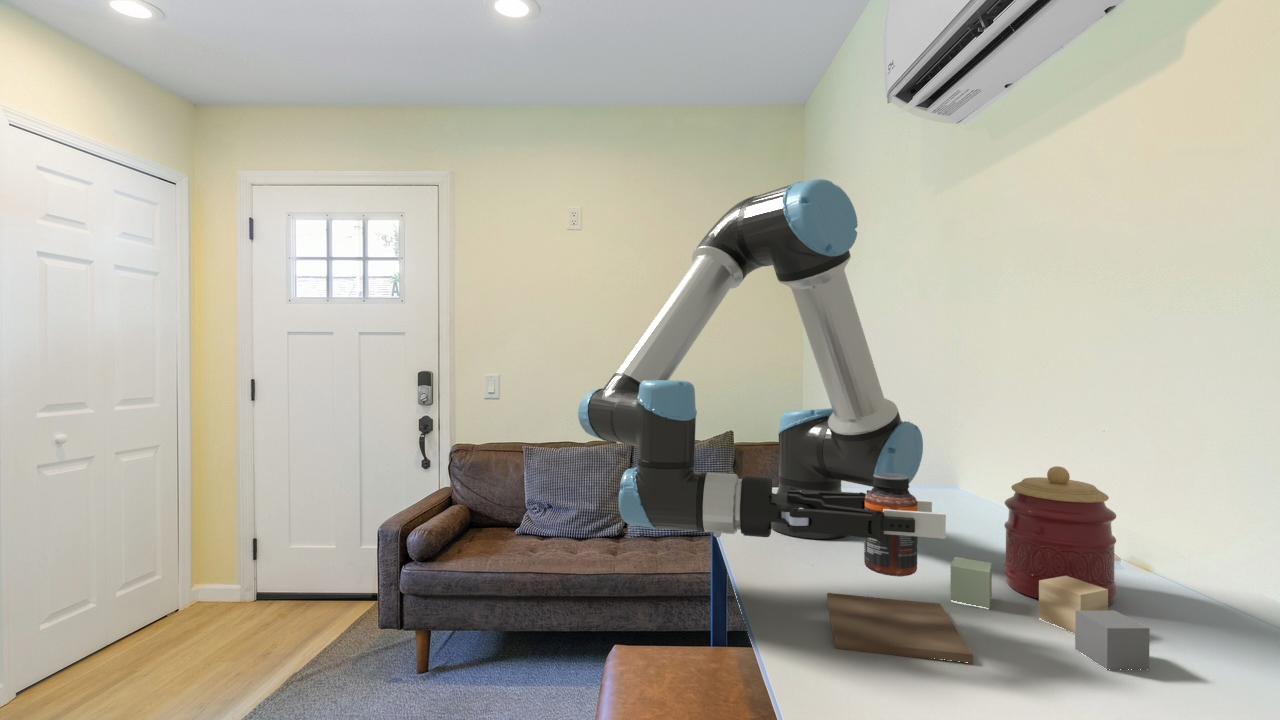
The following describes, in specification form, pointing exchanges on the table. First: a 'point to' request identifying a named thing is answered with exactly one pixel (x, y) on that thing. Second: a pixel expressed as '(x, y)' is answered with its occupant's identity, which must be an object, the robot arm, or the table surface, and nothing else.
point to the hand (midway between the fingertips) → (937, 518)
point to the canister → (1058, 533)
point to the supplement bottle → (895, 549)
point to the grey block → (1112, 640)
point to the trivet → (895, 628)
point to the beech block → (1069, 600)
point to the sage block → (971, 582)
